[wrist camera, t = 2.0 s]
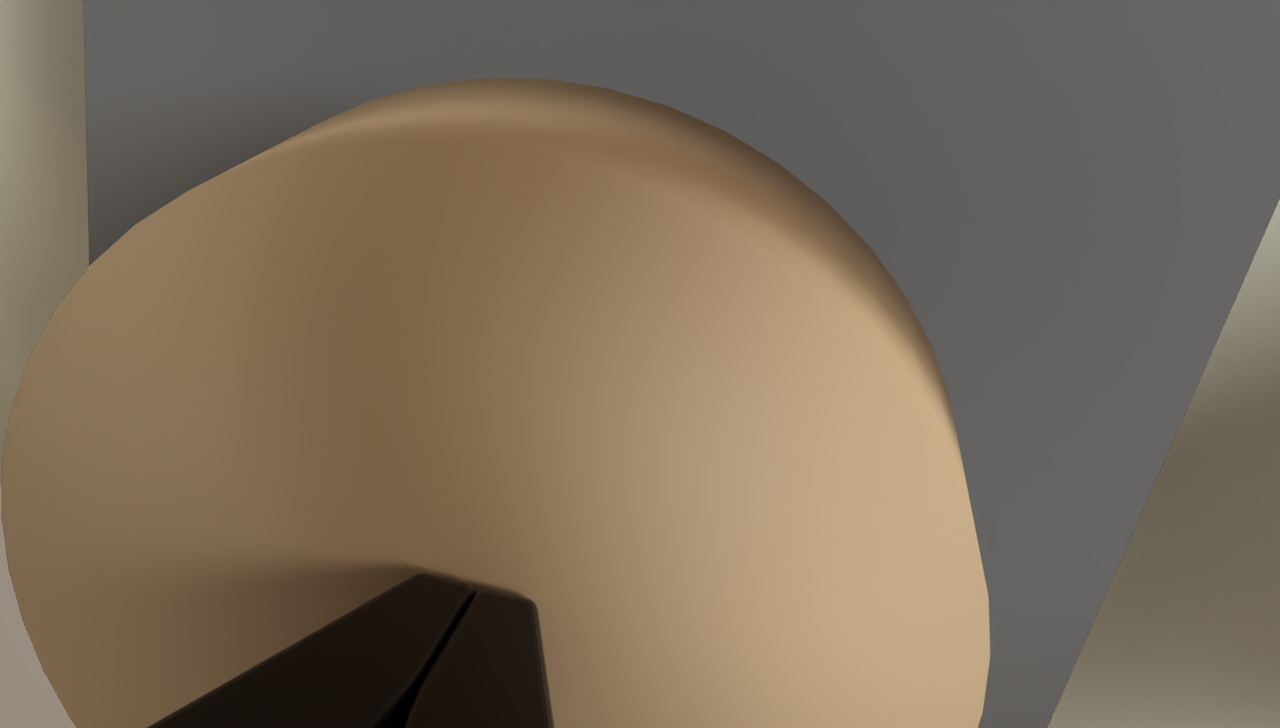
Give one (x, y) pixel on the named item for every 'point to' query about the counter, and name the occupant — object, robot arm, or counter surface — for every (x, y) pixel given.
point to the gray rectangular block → (850, 200)
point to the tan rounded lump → (503, 424)
